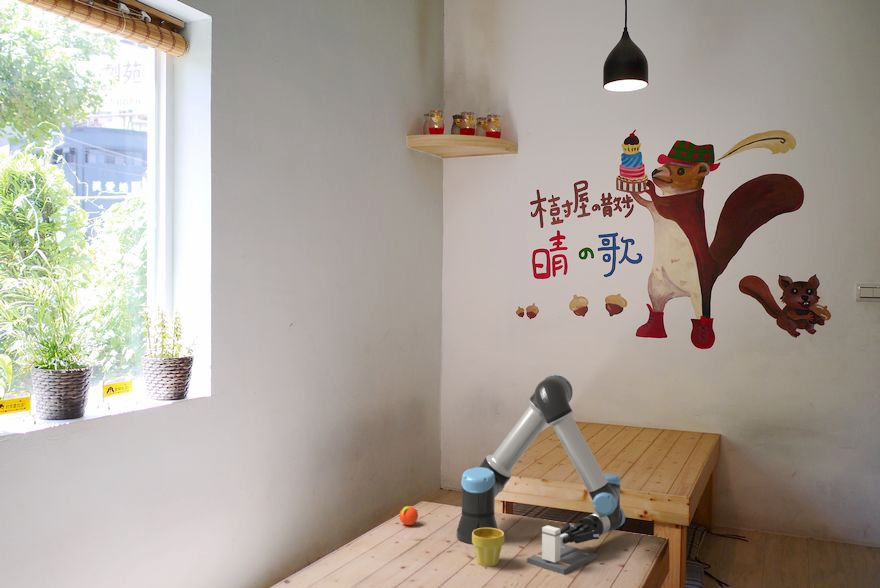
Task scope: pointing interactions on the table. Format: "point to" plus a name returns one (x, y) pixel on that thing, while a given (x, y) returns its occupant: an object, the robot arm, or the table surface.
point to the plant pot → (487, 545)
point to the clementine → (408, 515)
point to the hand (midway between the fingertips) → (554, 542)
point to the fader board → (564, 559)
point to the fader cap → (551, 543)
